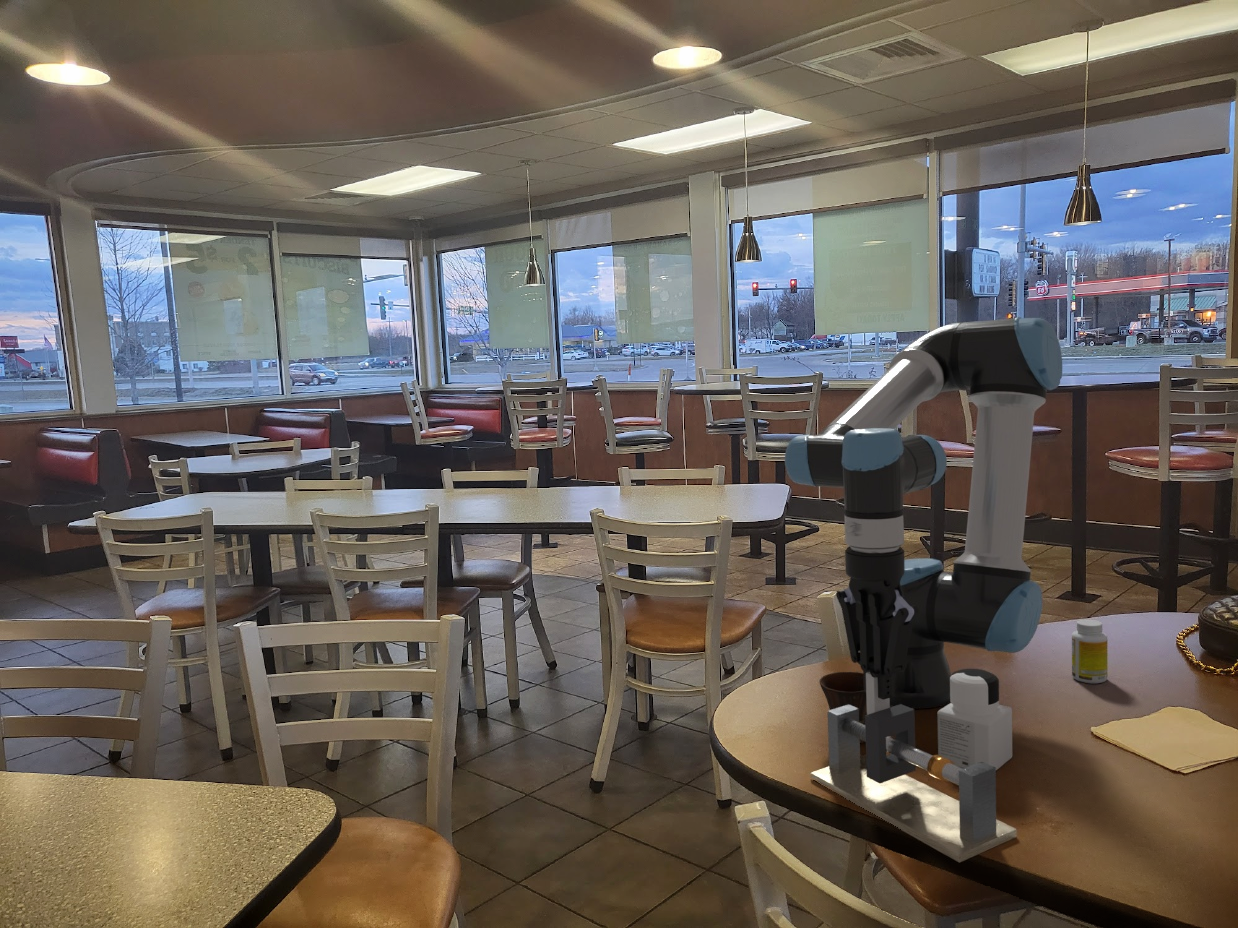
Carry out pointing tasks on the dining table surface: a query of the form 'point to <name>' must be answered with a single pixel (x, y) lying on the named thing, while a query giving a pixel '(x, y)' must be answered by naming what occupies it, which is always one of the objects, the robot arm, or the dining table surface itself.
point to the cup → (845, 692)
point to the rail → (916, 792)
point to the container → (975, 721)
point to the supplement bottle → (1089, 652)
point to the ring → (877, 730)
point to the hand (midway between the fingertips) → (878, 718)
